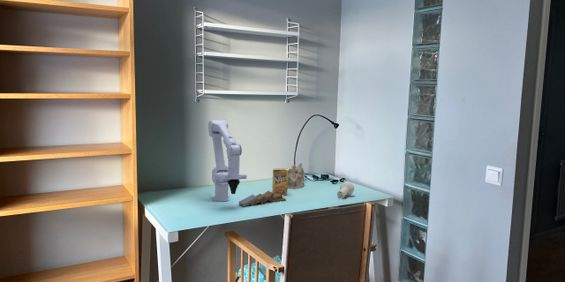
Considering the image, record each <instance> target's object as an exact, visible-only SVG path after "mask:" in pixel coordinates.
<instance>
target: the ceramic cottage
mask: <svg viewBox="0 0 565 282" xmlns="http://www.w3.org/2000/svg"><path fill="white" fill-rule="evenodd" d="M302 164H303V163H302V162H301V163H299V164H298V165H295V164H292V165H291V168H289V169H288V188H287V189H290V190H295V189H296V188H297V189H302V188H304V187H305V177H304V173H305V170H304V167H303V165H302Z"/></svg>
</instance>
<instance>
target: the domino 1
mask: <svg viewBox="0 0 565 282" xmlns="http://www.w3.org/2000/svg"><path fill="white" fill-rule="evenodd" d="M256 200H258V198H257V195H254V194H251V195H249V196H247V197H245V198H243V199H242V200H240V201H238V205H239V206H241V207H243V208H245V207H246V206H250V205H249V204H251V203H252V202H254V201H256Z"/></svg>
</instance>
